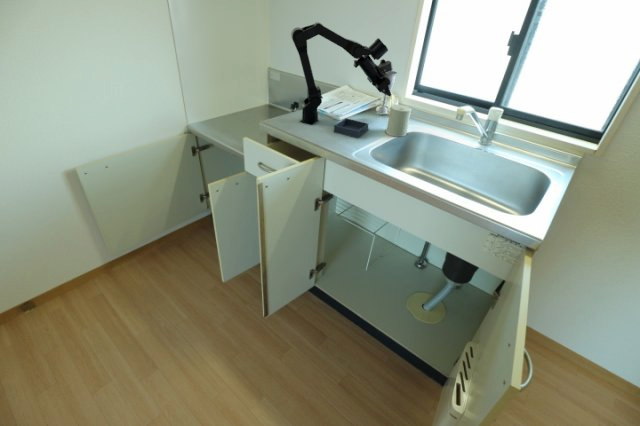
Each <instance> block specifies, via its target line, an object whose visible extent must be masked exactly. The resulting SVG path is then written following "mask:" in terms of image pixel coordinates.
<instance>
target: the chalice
mask: <svg viewBox="0 0 640 426" xmlns="http://www.w3.org/2000/svg"><path fill="white" fill-rule="evenodd" d="M397 75H398V72H397V71H394V70H392V71H388V72H386V73H384V76H383V77H387V78H388V79H389V80H390V81H391V84H390V85H388V87H389V90H390V92H391V91H392V89H393V88H394V86H395V81H396V76H397ZM383 77H382V78H383ZM387 98H388V96H387V95H386V94H384V95H383V101H382V105H381V106H379V108H378V110H377V113H378V114H382V115H386V114H388V113H389V111H388V108H387V106H386V103H387Z"/></svg>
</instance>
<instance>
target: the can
mask: <svg viewBox="0 0 640 426" xmlns="http://www.w3.org/2000/svg"><path fill="white" fill-rule="evenodd" d="M389 109H390V110H389V115H388V121H387V125H386V130H385V132H386V134H387V135H389V136H391V137H396V138H403V137H405V136H407V133H408V127H409V121H410V117H411V113H412V107H411V106H408V105H406V104H392V105H390V107H389Z"/></svg>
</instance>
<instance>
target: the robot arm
mask: <svg viewBox="0 0 640 426" xmlns="http://www.w3.org/2000/svg"><path fill="white" fill-rule="evenodd" d="M290 35H291V40H292V42H293V44H294V47H295V49H296V51H297V54H298V57H299V61H300V64H301V65H300V66H301V68H302V73H303V76H304V80H305V84H306V95H307V97H306V98H304V99H303V101H302V104H303V107H302V110H301V112H302V113H301V114H302V116H301V119H300V123H304V124H308V125H314V124H316V123H318V122H319V112H318V108H319V107H320V106H321V105H322V103H323V95H322V90H321V88H320V87H321V86H320V85H316V82H315V77H314V74H313V70H312V65H311V61H310V57H309V53H308V40H310V39H312V38H315V37H316V36H321V37H322V38H324V39H326V40H328V41H329V42H331V43H332V44H334V45H336V46H338V47H340V48H341V49H343V50H344V51H345V52H347V54H349V55H350V56H351V57H352V58H354V60H353V67H354V68H355V69H357V68H358V67H359V68H360V69H361V71H362V72H363V73H364V75H365V76H366V77H367V80H368V82H369V83H370V84H371V85H372V86H373V87H375V89H376V90H377V91H378V92H379V93H381V94H383V95H385V94H386V96H387V97H391V96H392V93H391V91H390V90H389V87H388V85H390V84H391V81H390V80H389V79H388V78H387V77H383V76H384V73H386V72H388V71H394V68H393V62H392V61H390V60H385V59H384V58H382V57H383V56H384V55H385V54H387V52H389V49H388V46H387V45H385V44H384V43H383V41H382V40H381V39H380V38H379V37H377V38H376V39H375V40H374V42H372V43H371V44H370V46H367V45H362V44H361V43H360V42H358V41H355V40H353V39H349V38H346V37H344V36H342V35H340V34H338V33H337V32H335V31H333V30H332V29H330V28H328V27H326V26H324V25H323V24H322V23H321V22H315V23H313V24H310V25H307V26H304V27H303V26H302V27H297V26H296V27H294V28H293V29H292V30H291V33H290ZM381 58H382V59H381ZM375 60H376V61H379V60H380V61H379V64H378V65H377V64H376V63H375V62H374V61H375ZM382 77H383V78H382Z"/></svg>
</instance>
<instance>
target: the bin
mask: <svg viewBox="0 0 640 426" xmlns="http://www.w3.org/2000/svg"><path fill="white" fill-rule="evenodd" d="M369 125H370V124H369V123H367V122H363V121H359V120H355V119H351V118H347V117H345V118H344V119H342V120H341V121H339V122H338V123H336V124H334V127H333V132H334V133H336V134H341V135H345V136H349V137H351V138H355V139H358V138H360V137H361V136H362V135H363V134H365V133H366V132H367V131H369Z"/></svg>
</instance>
